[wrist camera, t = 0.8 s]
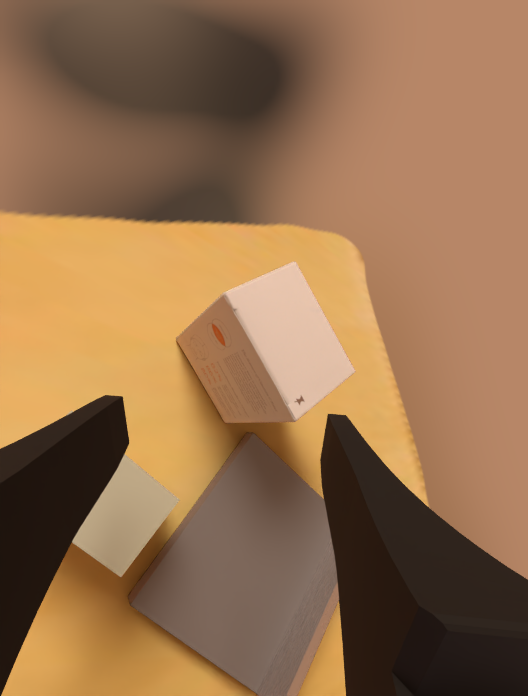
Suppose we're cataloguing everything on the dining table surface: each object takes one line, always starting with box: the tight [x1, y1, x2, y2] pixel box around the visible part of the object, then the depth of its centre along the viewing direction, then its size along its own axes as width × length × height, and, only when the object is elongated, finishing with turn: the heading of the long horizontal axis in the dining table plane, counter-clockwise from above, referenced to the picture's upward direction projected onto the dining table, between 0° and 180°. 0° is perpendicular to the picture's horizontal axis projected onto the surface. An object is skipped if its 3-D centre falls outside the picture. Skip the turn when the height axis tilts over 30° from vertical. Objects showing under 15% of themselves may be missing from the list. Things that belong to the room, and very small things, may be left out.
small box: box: [176, 262, 355, 423], centre depth 23 cm, size 8×6×10 cm
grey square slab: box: [128, 433, 339, 696], centre depth 24 cm, size 13×12×4 cm
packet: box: [66, 411, 179, 577], centre depth 18 cm, size 4×7×7 cm, turn 50°
